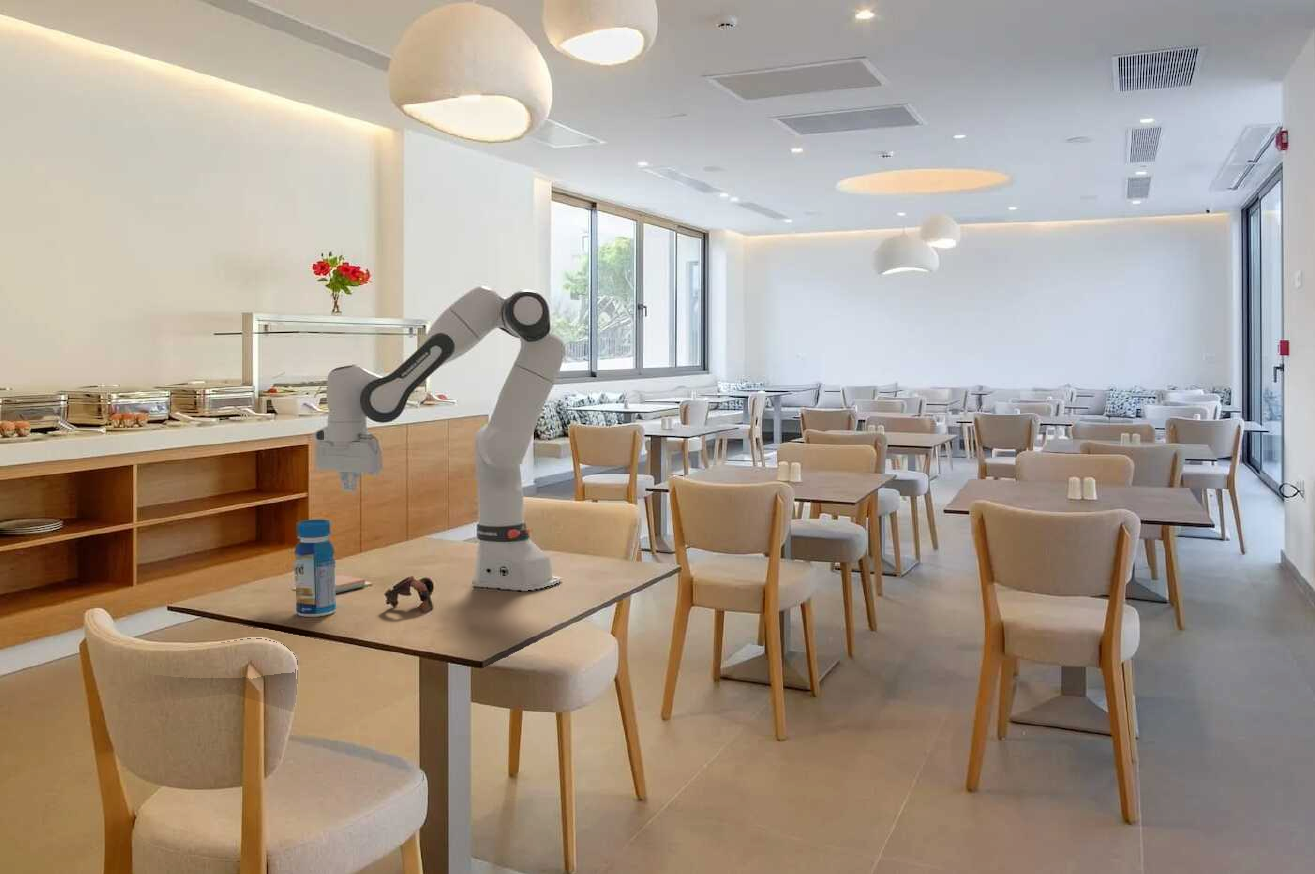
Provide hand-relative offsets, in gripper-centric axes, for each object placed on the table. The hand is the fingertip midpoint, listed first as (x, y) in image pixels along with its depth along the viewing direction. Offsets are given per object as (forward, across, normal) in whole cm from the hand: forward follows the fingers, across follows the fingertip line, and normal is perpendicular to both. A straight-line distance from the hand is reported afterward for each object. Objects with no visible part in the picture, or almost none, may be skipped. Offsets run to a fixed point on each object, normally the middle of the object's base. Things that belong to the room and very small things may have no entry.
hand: (349, 490), depth 237 cm
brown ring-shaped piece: (+24, -28, +7) cm, 37 cm away
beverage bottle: (+24, -13, +21) cm, 34 cm away
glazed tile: (+22, -3, +3) cm, 23 cm away
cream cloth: (+23, +4, +3) cm, 24 cm away
